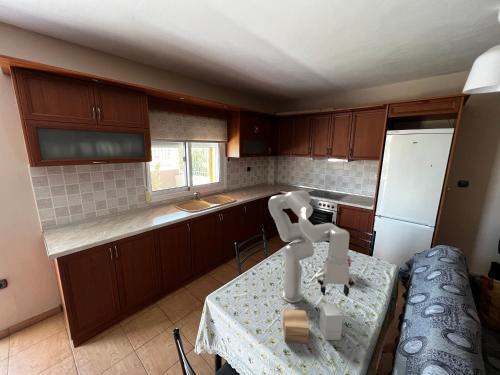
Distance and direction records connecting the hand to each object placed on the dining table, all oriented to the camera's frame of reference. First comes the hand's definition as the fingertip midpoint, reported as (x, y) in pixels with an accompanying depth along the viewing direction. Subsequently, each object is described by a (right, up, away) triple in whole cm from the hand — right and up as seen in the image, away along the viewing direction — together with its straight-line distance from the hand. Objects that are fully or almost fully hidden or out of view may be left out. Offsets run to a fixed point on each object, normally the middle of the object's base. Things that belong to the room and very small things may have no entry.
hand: (334, 294), depth 91 cm
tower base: (-17, -20, +4) cm, 26 cm away
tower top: (-16, -16, +4) cm, 23 cm away
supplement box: (-1, -20, +4) cm, 21 cm away
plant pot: (+22, -12, +49) cm, 55 cm away
